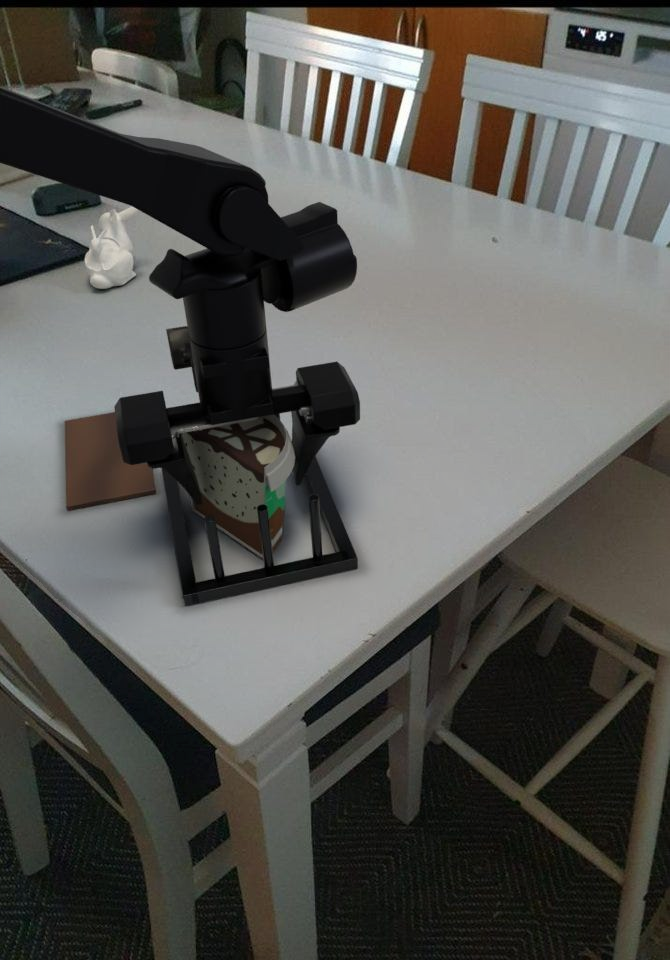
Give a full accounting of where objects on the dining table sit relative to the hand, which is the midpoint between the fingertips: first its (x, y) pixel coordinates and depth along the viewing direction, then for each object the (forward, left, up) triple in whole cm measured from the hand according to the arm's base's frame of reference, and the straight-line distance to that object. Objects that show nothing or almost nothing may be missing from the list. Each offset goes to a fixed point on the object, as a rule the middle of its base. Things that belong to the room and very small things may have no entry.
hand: (248, 492), depth 69 cm
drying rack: (0, 0, -3) cm, 3 cm away
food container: (0, 0, -3) cm, 3 cm away
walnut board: (-12, +13, -3) cm, 18 cm away
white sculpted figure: (-8, +54, -3) cm, 55 cm away
